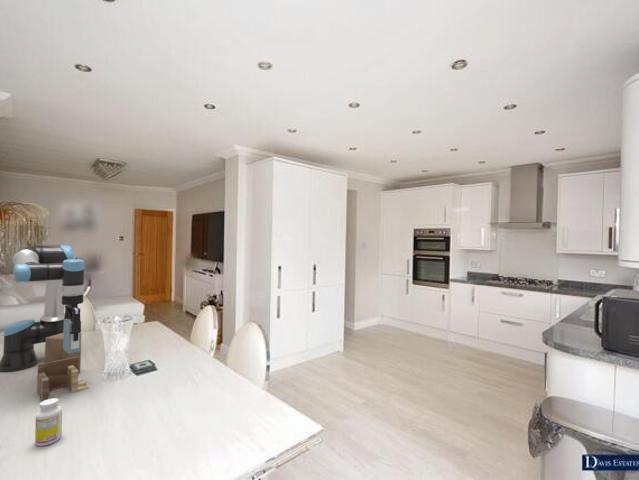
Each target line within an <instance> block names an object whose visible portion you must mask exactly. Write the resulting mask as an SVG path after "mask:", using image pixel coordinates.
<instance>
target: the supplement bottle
mask: <svg viewBox="0 0 639 480" xmlns="http://www.w3.org/2000/svg"><path fill="white" fill-rule="evenodd" d="M62 424H63V408H62V406H61V405H59V398H57V397H55V398H53V397H52V398H49V399H48V400H45V401H43V402H42V401H40V403H39V410H38V411H37V412H36V414H35V427H34V429H35V430H34V431H35V434H34V436H35V438H34V442H35V445H36V446H39V447H43V446H44V447H45V446H47V445H51V444H54V443H55V442H58V441H59V439H61V438H62V434H63V433H62V431H63V430H62V429H63V428H62V427H63V425H62Z"/></svg>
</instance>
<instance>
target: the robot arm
mask: <svg viewBox="0 0 639 480" xmlns="http://www.w3.org/2000/svg"><path fill="white" fill-rule="evenodd" d="M11 260H12V264H13V265H14V266H13V281H14V282H17V283H27V282H44V281H45V287H44V288H45V292H44V309H43V310H44V311H43V315H42V316H40V318H39V321H35V319H24V320H19V321H15V322H12V323H9V324H6V326H5V327H4V330H3V331H4V332H3V335H2V336H3V353H2V356H1V358H0V372H1V373H10V372H18V371H23V370H26V369H29V368H32V367H34V366H37V365H38V363H39V359H38V356H37V353H36V351H35V345H38V344H43V343H45V338H46V337H50V336H53V335H57V334H61V333H63V328H64V319H71V322H72V323H73V324H72V332H70V334H71V349H75V348H79V333H80V332H81V333H82V321H81V308H79V306H78V305H79V304H83V303H84V294H85V284H84V282H85V268H86V267H85V261H84V260H83V259H75V255H74V250H73V249H72V246H70V245H63V244H57V245H56V244H55V245H53V244H52V245H50V244H47V245H44V244H43V245H42V244H40V245H39V244H38V245H36V244H35V245H34V244H33V245H30V246H25V247H22V248H19V249H18V250H16V251H15V252H14V254H12V257H11ZM76 329H77V330H76Z"/></svg>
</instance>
